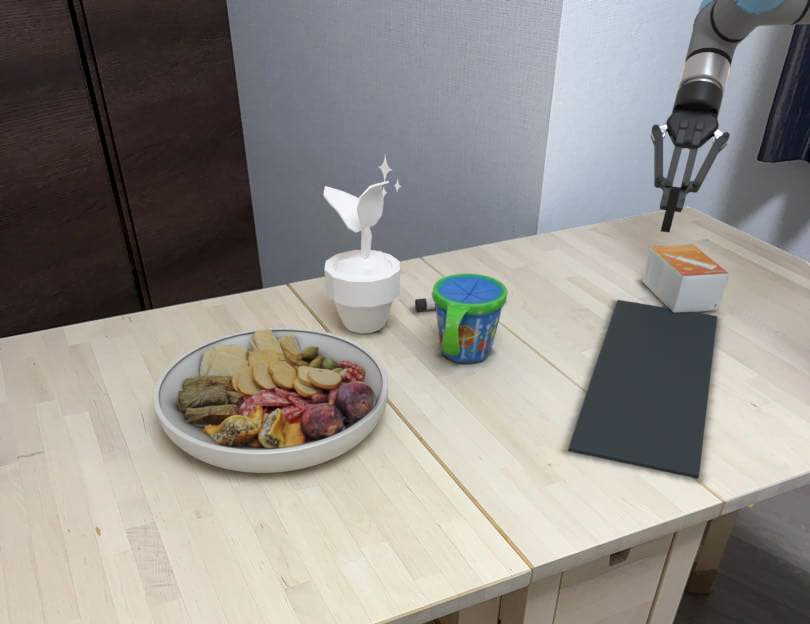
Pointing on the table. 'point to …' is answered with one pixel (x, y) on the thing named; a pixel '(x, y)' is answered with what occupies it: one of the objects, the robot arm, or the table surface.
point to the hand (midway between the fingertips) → (665, 228)
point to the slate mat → (649, 390)
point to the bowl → (271, 399)
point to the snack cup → (468, 315)
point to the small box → (684, 278)
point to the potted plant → (362, 262)
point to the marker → (425, 304)
